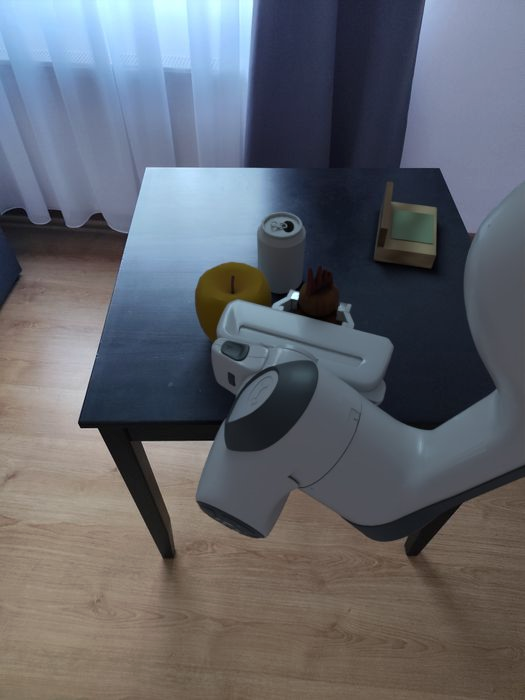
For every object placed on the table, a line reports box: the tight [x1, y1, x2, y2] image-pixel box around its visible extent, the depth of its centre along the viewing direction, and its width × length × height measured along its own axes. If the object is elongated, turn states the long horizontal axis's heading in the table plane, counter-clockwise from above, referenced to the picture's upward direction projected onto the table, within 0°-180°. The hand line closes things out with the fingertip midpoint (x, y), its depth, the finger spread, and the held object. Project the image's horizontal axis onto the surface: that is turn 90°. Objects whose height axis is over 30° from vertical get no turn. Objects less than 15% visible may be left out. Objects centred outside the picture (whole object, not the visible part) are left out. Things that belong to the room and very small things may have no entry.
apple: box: [194, 261, 272, 344], centre depth 68 cm, size 11×11×13 cm
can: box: [256, 211, 307, 295], centre depth 76 cm, size 8×8×12 cm
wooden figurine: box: [290, 265, 342, 326], centre depth 60 cm, size 7×6×15 cm
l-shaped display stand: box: [373, 181, 438, 269], centre depth 85 cm, size 10×14×7 cm
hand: (320, 300), depth 60 cm, fingers closed on wooden figurine, 5 cm apart
